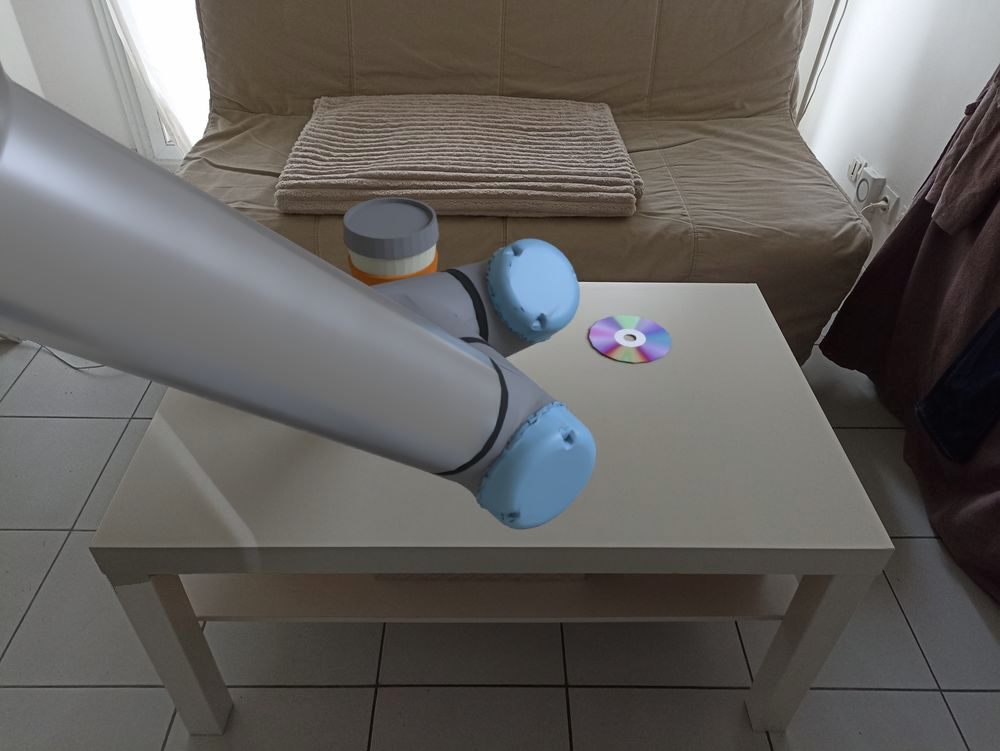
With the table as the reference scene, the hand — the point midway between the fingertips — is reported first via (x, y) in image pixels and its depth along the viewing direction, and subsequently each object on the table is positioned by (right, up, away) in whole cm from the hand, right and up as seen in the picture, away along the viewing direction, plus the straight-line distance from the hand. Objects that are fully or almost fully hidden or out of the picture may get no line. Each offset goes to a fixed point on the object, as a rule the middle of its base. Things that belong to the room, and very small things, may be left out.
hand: (368, 391), depth 88 cm
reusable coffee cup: (+1, +11, +19) cm, 22 cm away
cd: (+33, +7, +15) cm, 37 cm away
